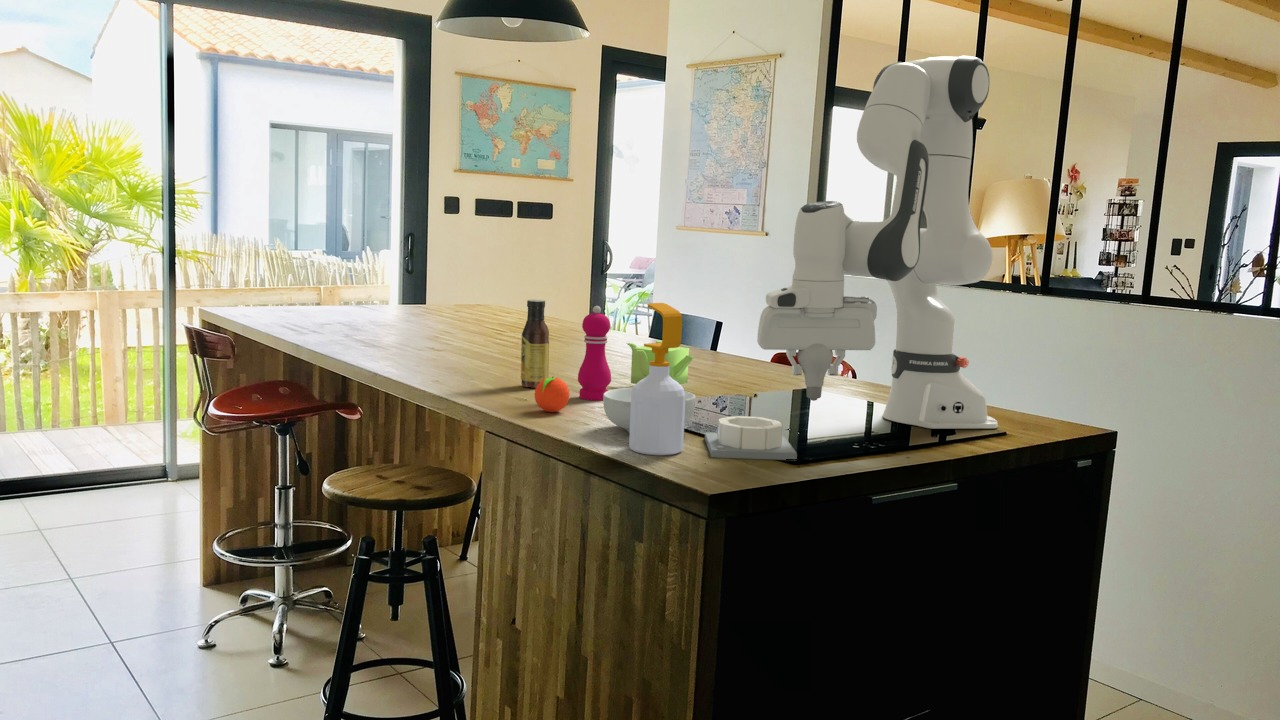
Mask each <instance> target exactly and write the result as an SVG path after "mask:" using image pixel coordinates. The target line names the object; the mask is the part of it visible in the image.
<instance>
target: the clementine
mask: <svg viewBox="0 0 1280 720" xmlns="http://www.w3.org/2000/svg"><path fill="white" fill-rule="evenodd" d="M569 399H570V388H569V387H568V385H567V383H566V382H565V381H564V380H562V379H561V378H558V377H554V376H552V377H548V378H545V379H543V380H542V381H541V382H540V383H539V384H538V385H537V387H536V388H534V400H535V403H536V404H537V406H538V407H539V408H540V409H541V410H543V411H545V412H547V413H556V412H560V411H561V410H563V409H564V408H565V407H566V406H567V405H568V402H569Z"/></svg>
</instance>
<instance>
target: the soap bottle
mask: <svg viewBox="0 0 1280 720" xmlns="http://www.w3.org/2000/svg"><path fill="white" fill-rule="evenodd" d="M647 307H648V308H650V309H652V310H653V311H655V312H656V313H658V314H660V316H661V317H662V338H661V339H662V340H661V341H662V343H656V342H651V343H643V346H644V347H650V348H652V353H655V361H650V367H649V375H648V376H647V377H646V378H644V379H642V380H640V381H639V382H638V383H636V384H634V385H633V386H632V387H633V389H632V391H631V410H630V433H629V435H628V436H629V440H628V442H629V443H628V446H629V449H630V450H631V451H633V452H634V453H638V454H640V455H641V454H642V455H648V456H671V455H676V454H680V453H681V452H682V451H683V450H684V437H685V436H684V435H685V424H684V419H685V397H686V394H685V389H684V387H683V386H682V384H679V383H678V382H677V381H675V380H674V379H672V378H671V377H670V376H669V362H666V361H665V354H666V353H668V349H669V348H677V347H681V345H682V334H683V333H682V332H683V316H682V313H681V312H680V311H679V310H678V309H677V308H674V307H672V306H671V305H669V304H667V303H665V302H649V303H648V304H647Z"/></svg>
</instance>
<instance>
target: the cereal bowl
mask: <svg viewBox="0 0 1280 720" xmlns="http://www.w3.org/2000/svg"><path fill="white" fill-rule="evenodd" d="M632 389H633V386H632V387H622V388H621V387H620V388H614V389H610V390H608V391H607V392H605V393H604V394H603V400H602V401H603V409H604V413H605V414H606V415H605V416H606V418H608V420H609V421H610V422H611V423H612V424H614V425H616V426H618V427H620V428H623V429H625V430H626V432H628V433H629V434H630V410H631V391H632ZM684 391H685V390H684ZM685 394H686V397H685V419H684V425H686V424H687V423H688V422H689V421H690V420H691V419H692V417H693V416H694V413H695V408H696V402H697V401H696V398H697V397H696V395H695V394H694V393H692V392H689V391H685Z"/></svg>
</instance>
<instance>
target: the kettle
mask: <svg viewBox="0 0 1280 720" xmlns="http://www.w3.org/2000/svg"><path fill="white" fill-rule="evenodd" d="M655 343H662V340H656V341H655ZM625 344H627V346H629V347H630V349H631V368H630V369H631V371H630V372H631V373H630V384H634V385H635V384H636V383H638V382H639V381H640V380H642V379H644V378H646V377H647V376H648V375H649V367H650V361H655V353H652V348H650V347H644V345H643V346H637V345H636V344H635V343H633V342H632V343H631V342H626V343H625ZM694 357H695V356H693V355H690V348H689V347H683V346H682V347H681V346H679V347H677V348H669V349H668V353H666V354H665V361H666V362H669V376H670V377H671V378H672V379H674V380H675V381H677V382H678V383H679V384H680V385H683V384H687V383H688V379H689V377H688V375H689V365H690V363H691V362H692V361H693V359H694Z"/></svg>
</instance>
